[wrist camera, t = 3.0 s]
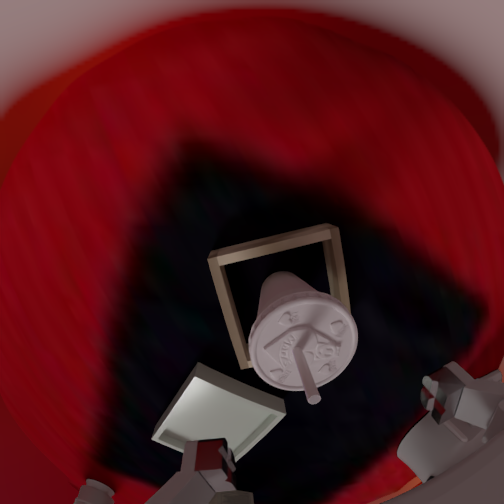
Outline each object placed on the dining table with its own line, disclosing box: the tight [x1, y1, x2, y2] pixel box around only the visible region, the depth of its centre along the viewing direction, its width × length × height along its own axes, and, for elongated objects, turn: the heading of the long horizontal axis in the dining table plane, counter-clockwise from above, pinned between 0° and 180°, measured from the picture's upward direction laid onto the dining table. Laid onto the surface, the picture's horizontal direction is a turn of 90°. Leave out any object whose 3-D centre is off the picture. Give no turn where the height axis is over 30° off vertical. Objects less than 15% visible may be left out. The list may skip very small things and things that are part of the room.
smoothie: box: [248, 271, 358, 404], centre depth 17 cm, size 6×6×14 cm
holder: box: [207, 223, 351, 369], centre depth 23 cm, size 10×10×3 cm
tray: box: [152, 362, 286, 462], centre depth 26 cm, size 12×10×2 cm
